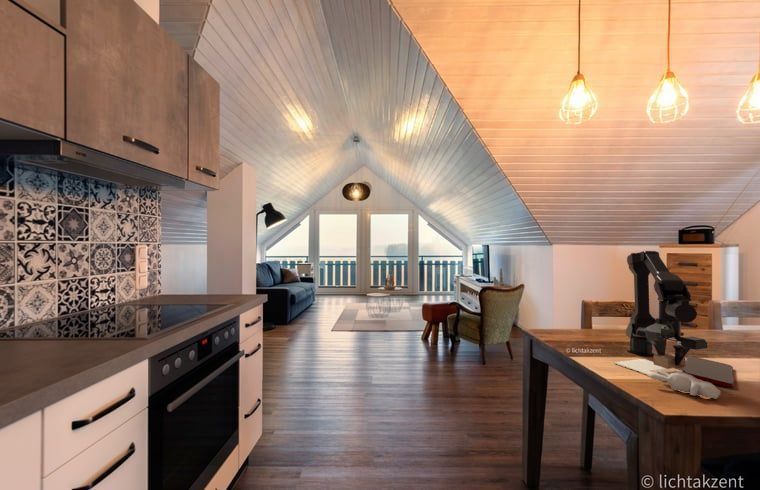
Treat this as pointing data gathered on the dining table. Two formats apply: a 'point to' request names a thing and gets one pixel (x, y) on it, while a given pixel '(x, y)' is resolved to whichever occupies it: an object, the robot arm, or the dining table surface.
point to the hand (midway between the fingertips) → (669, 362)
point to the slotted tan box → (667, 361)
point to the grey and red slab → (709, 371)
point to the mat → (645, 366)
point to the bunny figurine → (687, 383)
